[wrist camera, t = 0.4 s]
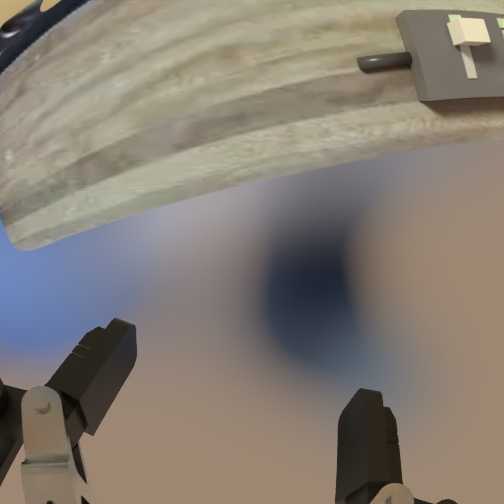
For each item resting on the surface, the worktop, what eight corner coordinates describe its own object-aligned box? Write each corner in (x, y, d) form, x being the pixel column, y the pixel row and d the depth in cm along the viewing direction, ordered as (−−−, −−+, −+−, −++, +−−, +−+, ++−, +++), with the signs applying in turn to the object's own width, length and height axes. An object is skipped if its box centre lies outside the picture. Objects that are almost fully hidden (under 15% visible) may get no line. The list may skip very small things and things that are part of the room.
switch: (477, 45, 21) (490, 42, 18) (453, 45, 22) (465, 41, 19) (470, 24, 20) (483, 19, 17) (446, 23, 21) (458, 17, 18)
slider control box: (369, 107, 30) (376, 107, 27) (344, 23, 27) (348, 15, 23) (566, 96, 22) (581, 99, 19) (550, 29, 18) (565, 26, 15)
